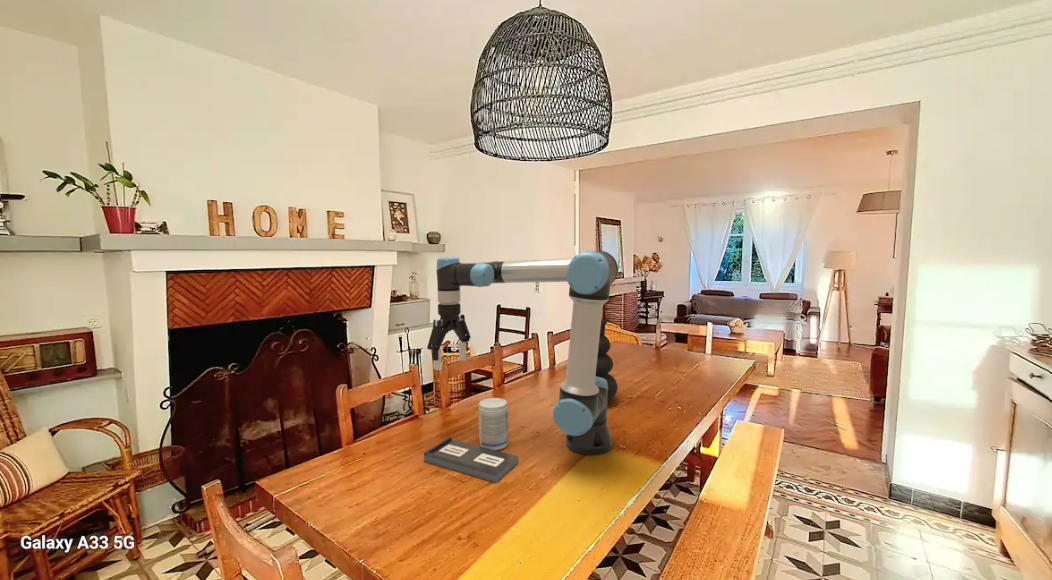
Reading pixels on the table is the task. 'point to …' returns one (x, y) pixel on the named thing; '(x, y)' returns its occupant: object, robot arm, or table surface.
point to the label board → (470, 460)
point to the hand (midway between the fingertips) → (450, 364)
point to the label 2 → (489, 460)
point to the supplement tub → (493, 423)
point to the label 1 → (454, 450)
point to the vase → (605, 362)
